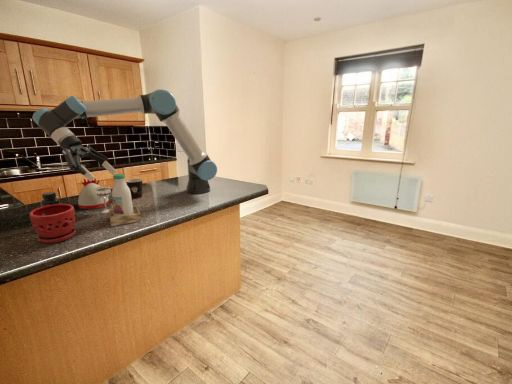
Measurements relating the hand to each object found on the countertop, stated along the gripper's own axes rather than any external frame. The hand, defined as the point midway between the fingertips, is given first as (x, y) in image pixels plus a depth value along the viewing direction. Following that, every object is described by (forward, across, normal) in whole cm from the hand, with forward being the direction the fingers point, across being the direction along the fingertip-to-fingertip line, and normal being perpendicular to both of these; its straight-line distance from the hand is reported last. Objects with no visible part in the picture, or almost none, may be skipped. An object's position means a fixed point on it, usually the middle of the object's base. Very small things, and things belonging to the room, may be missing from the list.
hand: (104, 175), depth 113 cm
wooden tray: (+19, 0, -9) cm, 21 cm away
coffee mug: (+8, -33, -21) cm, 40 cm away
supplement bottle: (-3, +5, -32) cm, 33 cm away
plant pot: (+10, +22, -18) cm, 30 cm away
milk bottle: (+19, 0, -8) cm, 21 cm away
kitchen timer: (-1, -16, -30) cm, 34 cm away
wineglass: (+8, -8, -20) cm, 23 cm away
